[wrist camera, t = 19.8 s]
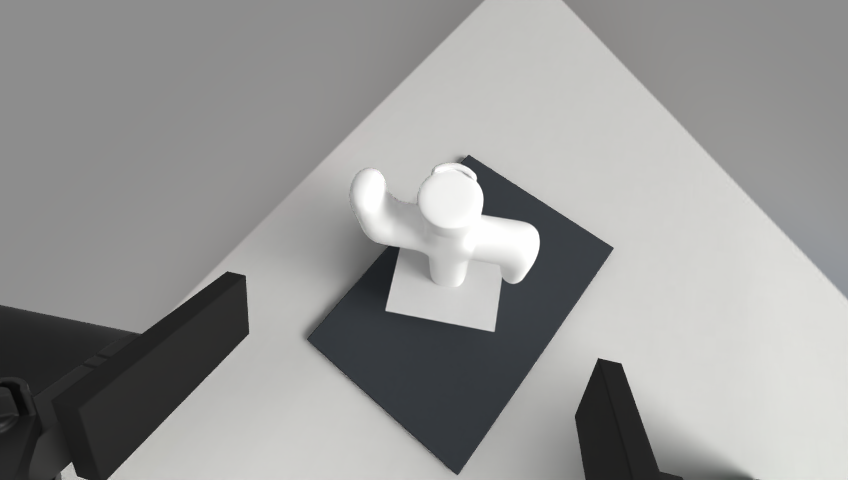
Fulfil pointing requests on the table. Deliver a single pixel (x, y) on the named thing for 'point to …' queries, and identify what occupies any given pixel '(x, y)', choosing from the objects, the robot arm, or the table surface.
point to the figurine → (445, 246)
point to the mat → (461, 331)
